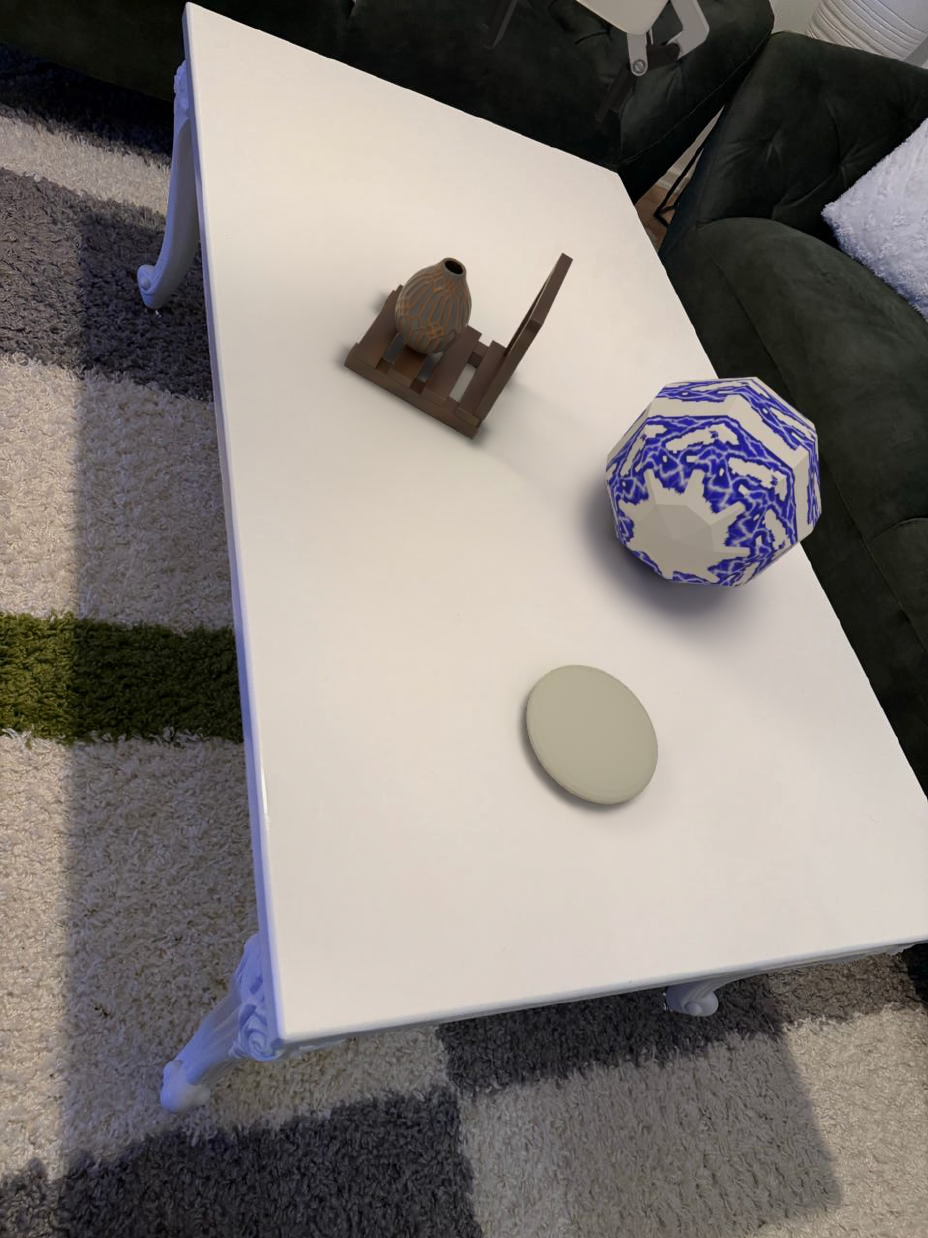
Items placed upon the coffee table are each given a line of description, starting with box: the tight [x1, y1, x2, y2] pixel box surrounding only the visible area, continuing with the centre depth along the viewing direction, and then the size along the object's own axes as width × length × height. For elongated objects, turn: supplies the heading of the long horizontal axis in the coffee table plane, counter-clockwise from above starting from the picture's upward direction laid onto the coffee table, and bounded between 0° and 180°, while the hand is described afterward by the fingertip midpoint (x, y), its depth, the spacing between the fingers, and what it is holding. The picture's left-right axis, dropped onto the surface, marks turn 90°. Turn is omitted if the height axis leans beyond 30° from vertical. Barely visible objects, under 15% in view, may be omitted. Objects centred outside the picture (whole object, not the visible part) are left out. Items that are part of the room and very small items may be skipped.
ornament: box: [604, 376, 822, 588], centre depth 82 cm, size 20×20×20 cm
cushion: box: [525, 664, 659, 805], centre depth 71 cm, size 12×12×3 cm
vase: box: [395, 257, 473, 355], centre depth 82 cm, size 7×7×9 cm
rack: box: [343, 252, 574, 440], centre depth 82 cm, size 14×12×15 cm
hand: (546, 78), depth 67 cm, fingers open, 9 cm apart
